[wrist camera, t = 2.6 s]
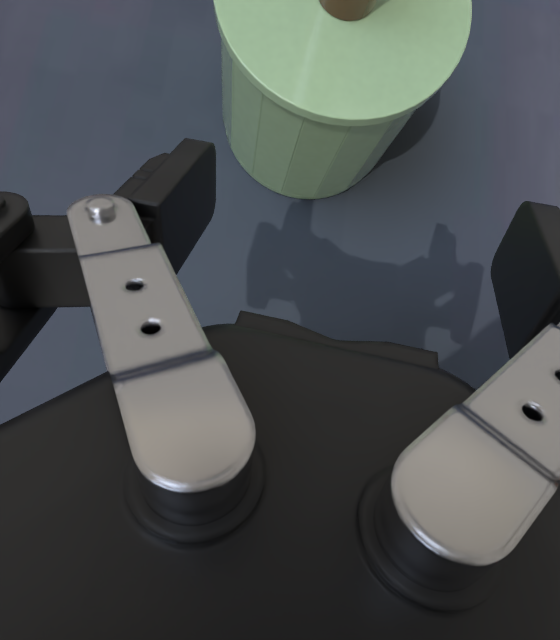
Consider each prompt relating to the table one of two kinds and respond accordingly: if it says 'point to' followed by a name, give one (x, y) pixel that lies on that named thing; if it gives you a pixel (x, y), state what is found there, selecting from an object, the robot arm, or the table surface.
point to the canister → (296, 142)
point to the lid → (346, 53)
